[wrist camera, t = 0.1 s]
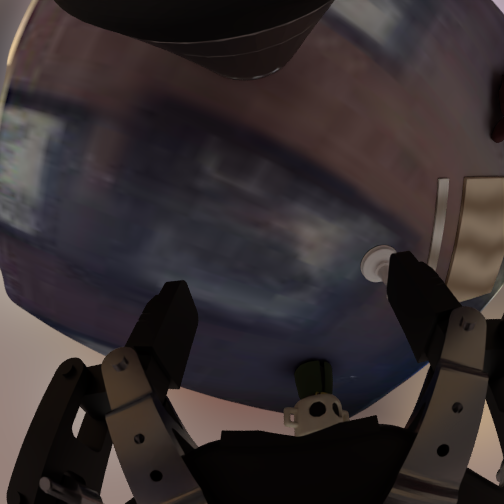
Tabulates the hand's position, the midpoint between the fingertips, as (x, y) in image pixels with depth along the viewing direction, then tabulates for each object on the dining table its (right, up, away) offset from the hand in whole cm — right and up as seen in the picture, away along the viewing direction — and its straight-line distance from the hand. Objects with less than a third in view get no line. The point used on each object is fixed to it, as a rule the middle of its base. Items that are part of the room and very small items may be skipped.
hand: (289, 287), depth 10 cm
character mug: (+9, -18, +31) cm, 37 cm away
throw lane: (+29, +2, +18) cm, 34 cm away
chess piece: (+14, 0, +20) cm, 24 cm away
